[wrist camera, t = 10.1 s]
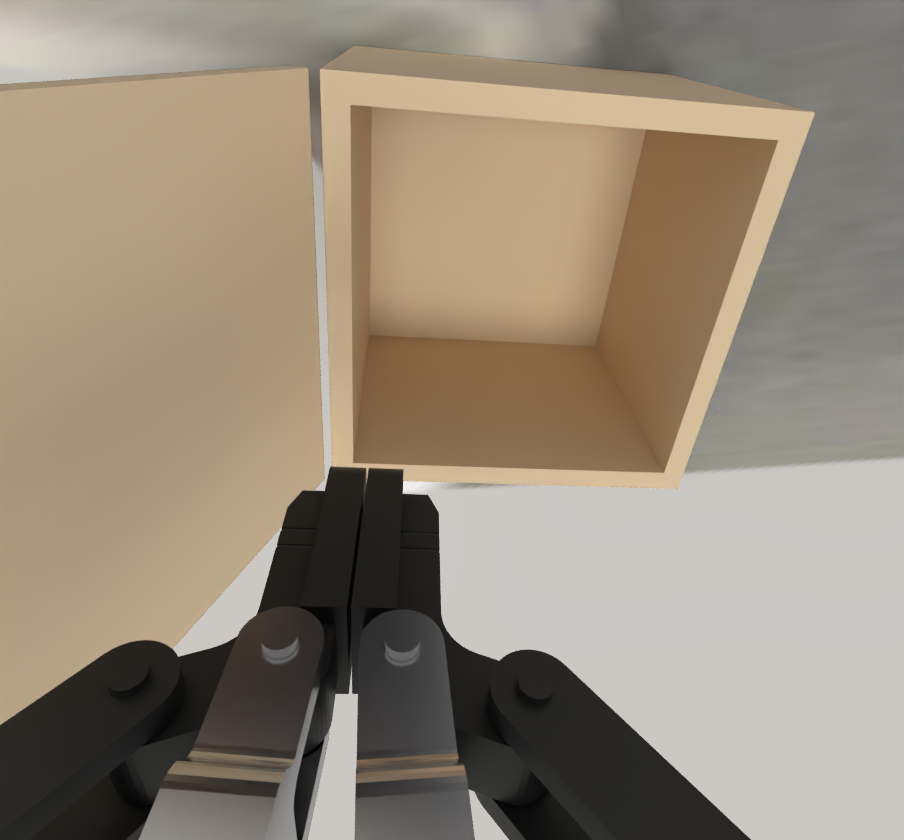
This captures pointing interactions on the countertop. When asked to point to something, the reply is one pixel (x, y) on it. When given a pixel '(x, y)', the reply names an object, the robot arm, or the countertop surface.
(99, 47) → the countertop surface
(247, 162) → the lid flap
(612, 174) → the carton
